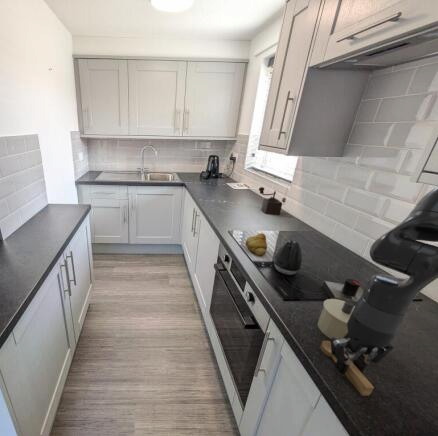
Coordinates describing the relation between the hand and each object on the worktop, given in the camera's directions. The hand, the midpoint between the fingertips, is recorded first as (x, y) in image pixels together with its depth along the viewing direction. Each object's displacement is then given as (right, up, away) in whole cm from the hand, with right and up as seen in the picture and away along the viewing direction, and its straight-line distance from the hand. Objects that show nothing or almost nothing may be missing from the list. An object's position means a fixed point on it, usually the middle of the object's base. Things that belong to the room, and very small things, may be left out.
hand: (347, 370), depth 59 cm
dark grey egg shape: (+9, +15, +43) cm, 46 cm away
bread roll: (+4, +22, +59) cm, 64 cm away
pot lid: (+8, +11, +10) cm, 17 cm away
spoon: (0, -1, +1) cm, 1 cm away
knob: (+23, +12, +26) cm, 37 cm away
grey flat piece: (+23, +9, +27) cm, 37 cm away
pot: (+8, +4, +13) cm, 15 cm away
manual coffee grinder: (+40, +44, +117) cm, 131 cm away
